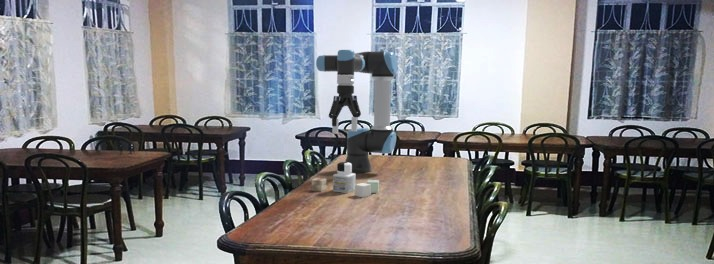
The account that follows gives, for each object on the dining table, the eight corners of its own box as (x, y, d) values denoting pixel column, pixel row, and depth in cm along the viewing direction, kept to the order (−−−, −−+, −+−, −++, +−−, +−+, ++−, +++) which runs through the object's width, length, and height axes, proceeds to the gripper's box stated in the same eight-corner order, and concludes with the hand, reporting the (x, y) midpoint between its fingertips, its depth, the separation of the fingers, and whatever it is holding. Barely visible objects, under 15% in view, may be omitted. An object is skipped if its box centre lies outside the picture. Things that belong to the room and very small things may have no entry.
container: (332, 191, 236) (332, 163, 235) (341, 188, 243) (341, 160, 241) (347, 193, 232) (347, 164, 231) (355, 190, 239) (356, 162, 238)
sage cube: (366, 192, 234) (367, 181, 234) (368, 190, 239) (368, 179, 239) (377, 193, 234) (378, 182, 233) (378, 190, 239) (379, 180, 238)
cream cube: (354, 195, 229) (354, 184, 228) (363, 193, 232) (363, 182, 232) (362, 197, 225) (362, 186, 225) (370, 195, 229) (371, 184, 228)
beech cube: (311, 190, 238) (311, 179, 237) (316, 188, 242) (316, 177, 242) (321, 191, 236) (321, 180, 235) (326, 189, 240) (326, 178, 240)
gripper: (334, 85, 220) (333, 135, 223) (368, 84, 240) (368, 130, 242) (320, 84, 225) (320, 133, 227) (355, 84, 245) (355, 129, 247)
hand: (345, 132), depth 235 cm, fingers open, 13 cm apart
